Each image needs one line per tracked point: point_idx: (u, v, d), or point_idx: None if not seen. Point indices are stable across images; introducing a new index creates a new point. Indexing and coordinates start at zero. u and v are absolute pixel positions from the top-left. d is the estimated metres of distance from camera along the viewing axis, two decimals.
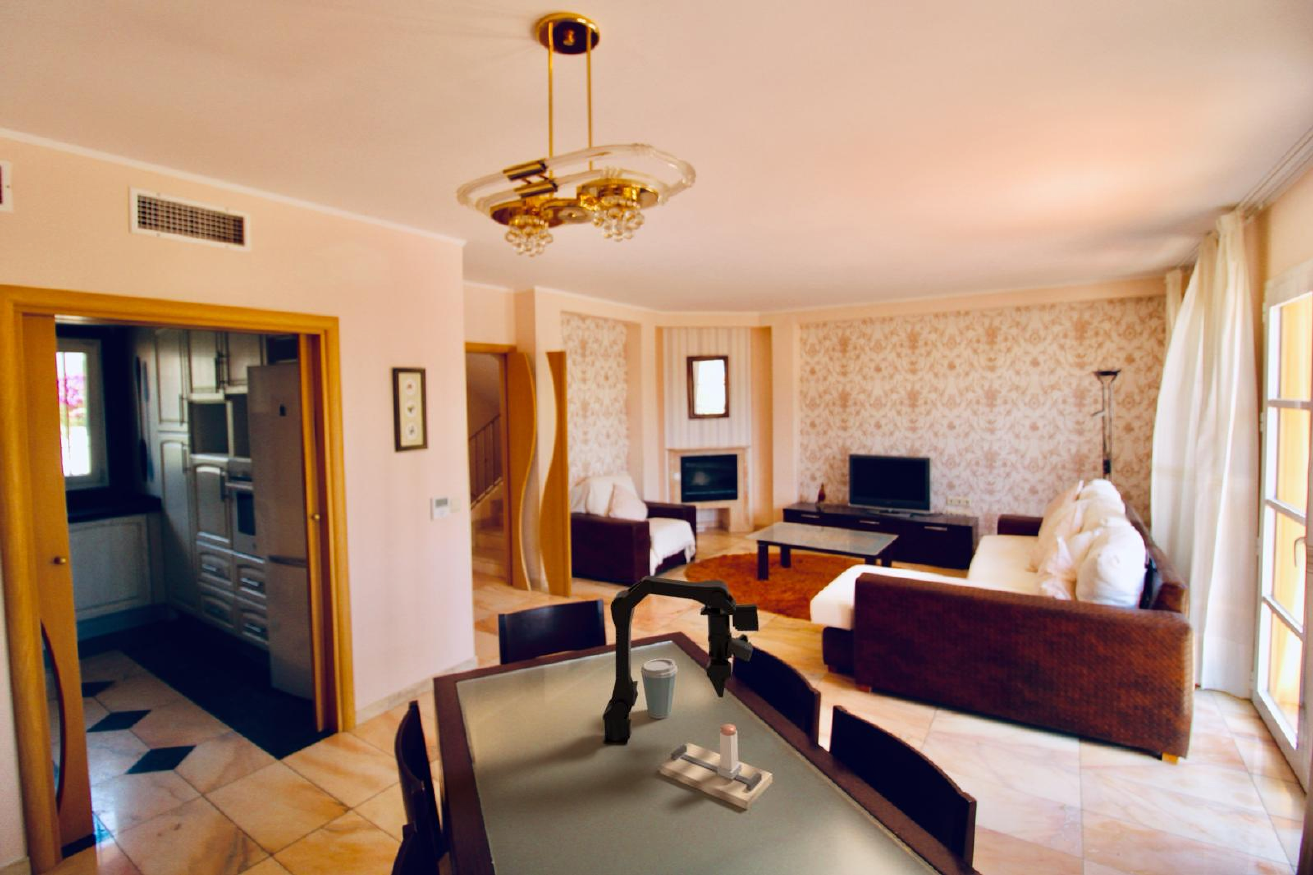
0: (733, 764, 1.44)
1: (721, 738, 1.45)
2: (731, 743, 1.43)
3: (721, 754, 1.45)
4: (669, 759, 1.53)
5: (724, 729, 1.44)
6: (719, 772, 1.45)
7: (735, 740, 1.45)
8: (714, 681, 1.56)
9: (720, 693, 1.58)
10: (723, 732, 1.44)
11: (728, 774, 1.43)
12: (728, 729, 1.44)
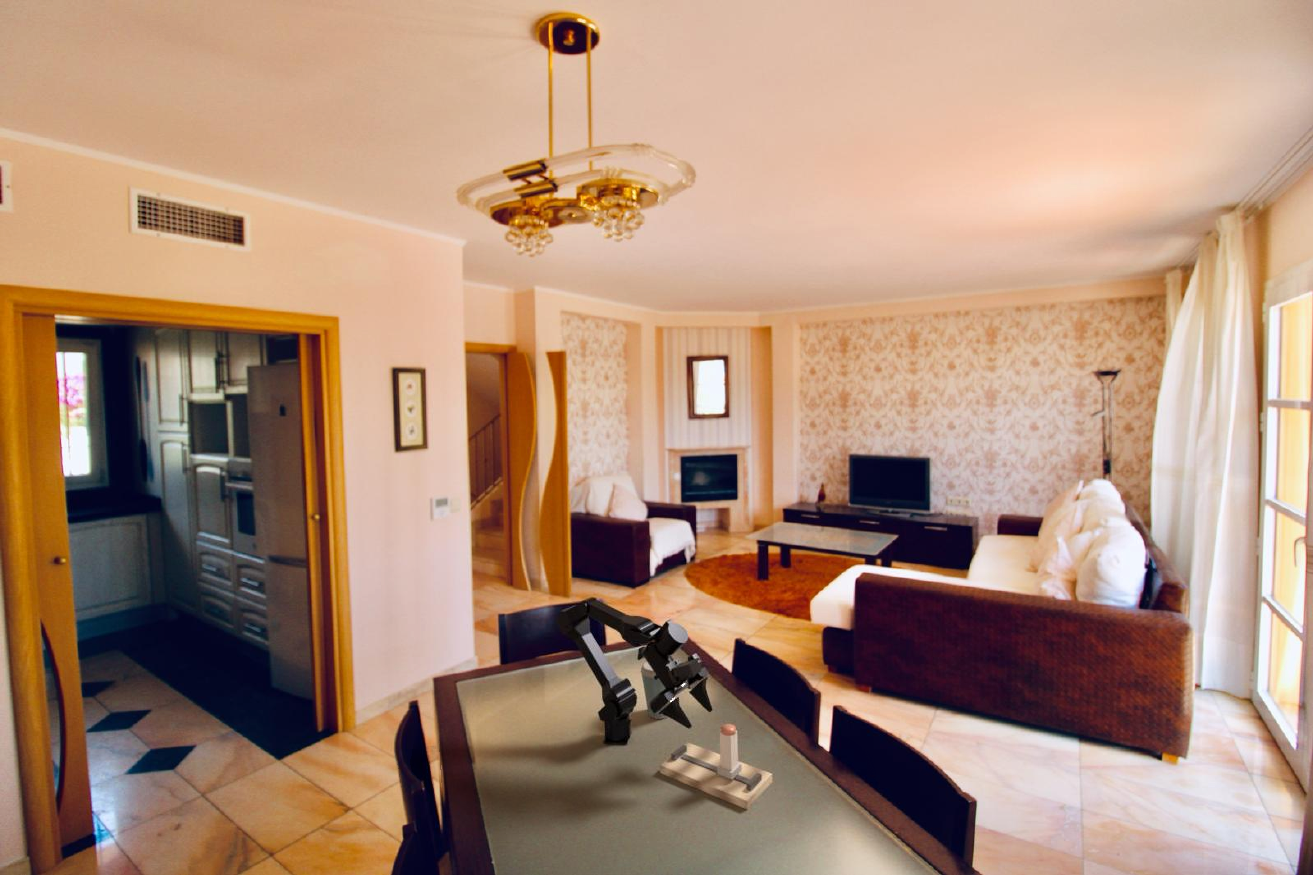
0: (733, 764, 1.44)
1: (721, 738, 1.45)
2: (731, 743, 1.43)
3: (721, 754, 1.45)
4: (669, 759, 1.53)
5: (724, 729, 1.44)
6: (719, 772, 1.45)
7: (735, 740, 1.45)
8: (671, 715, 1.47)
9: (686, 724, 1.46)
10: (723, 732, 1.44)
11: (728, 774, 1.43)
12: (728, 729, 1.44)
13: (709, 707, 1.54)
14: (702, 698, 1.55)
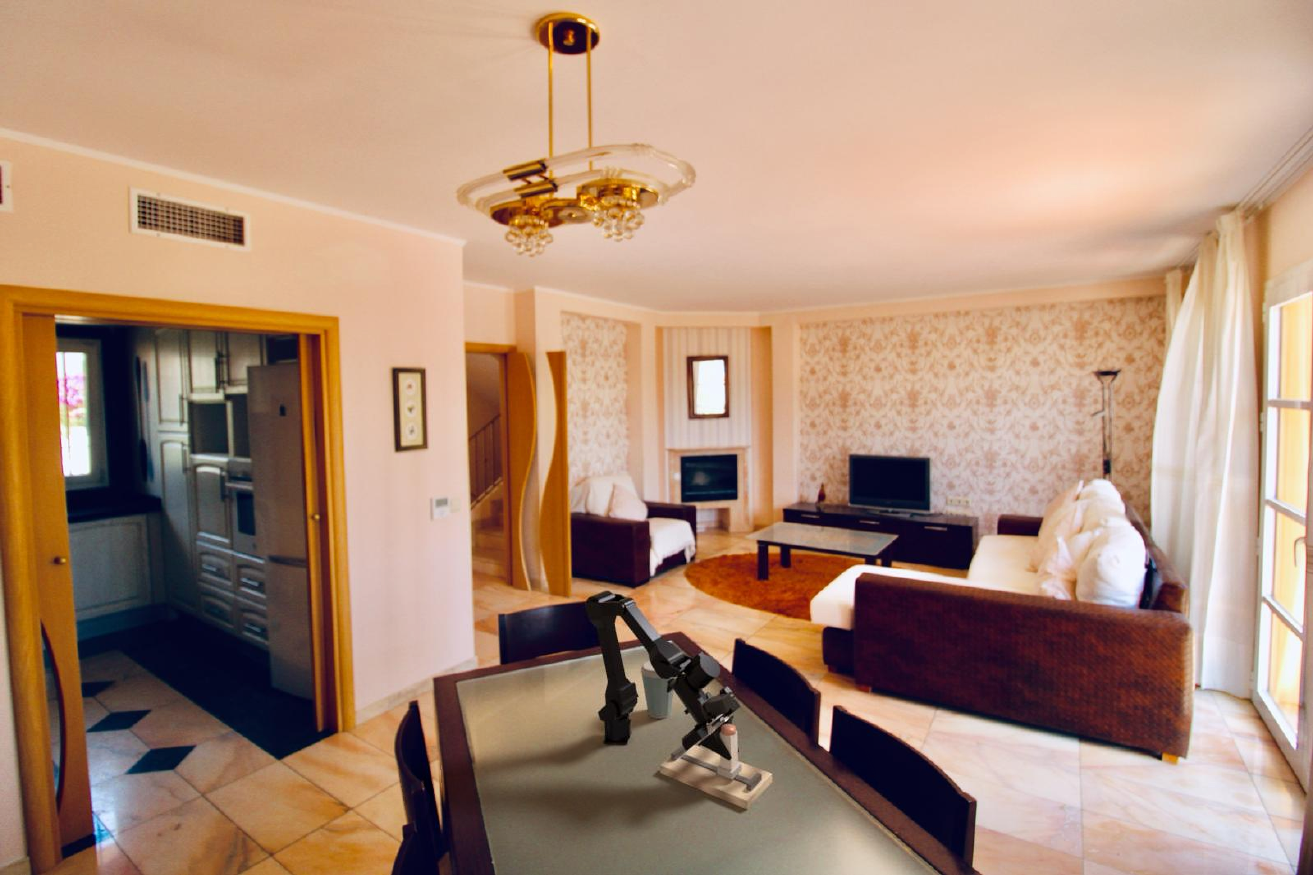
0: (733, 764, 1.44)
1: (721, 738, 1.45)
2: (731, 743, 1.43)
3: None
4: (669, 759, 1.53)
5: (724, 729, 1.44)
6: (719, 772, 1.45)
7: (735, 740, 1.45)
8: (710, 746, 1.45)
9: (726, 755, 1.44)
10: (723, 732, 1.44)
11: (728, 774, 1.43)
12: (728, 729, 1.44)
13: None
14: None
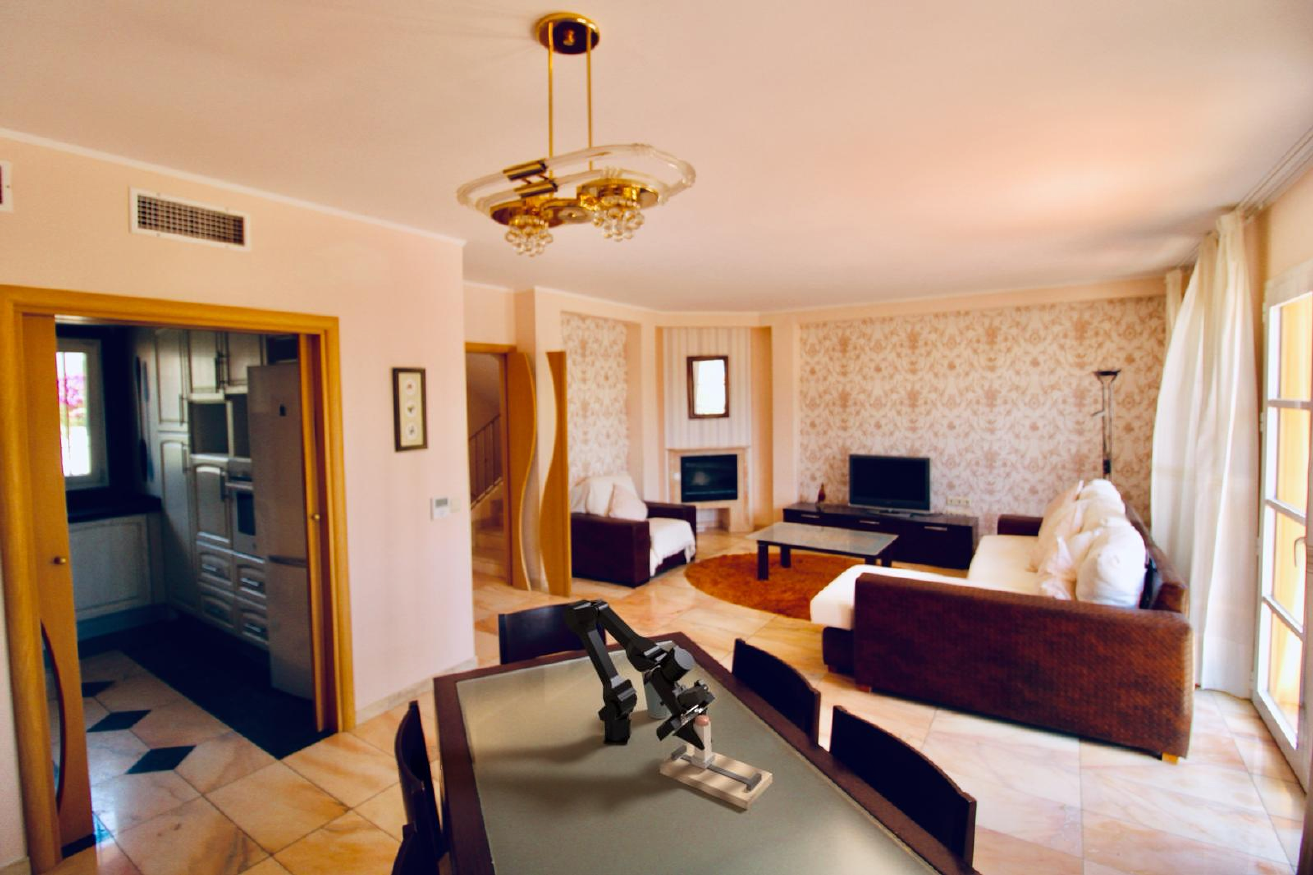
0: (706, 754, 1.49)
1: (695, 729, 1.49)
2: (704, 734, 1.48)
3: None
4: (669, 759, 1.53)
5: (698, 720, 1.49)
6: (693, 762, 1.49)
7: (708, 731, 1.49)
8: (684, 737, 1.49)
9: (699, 746, 1.48)
10: (697, 723, 1.49)
11: (701, 764, 1.48)
12: (701, 720, 1.49)
13: None
14: None
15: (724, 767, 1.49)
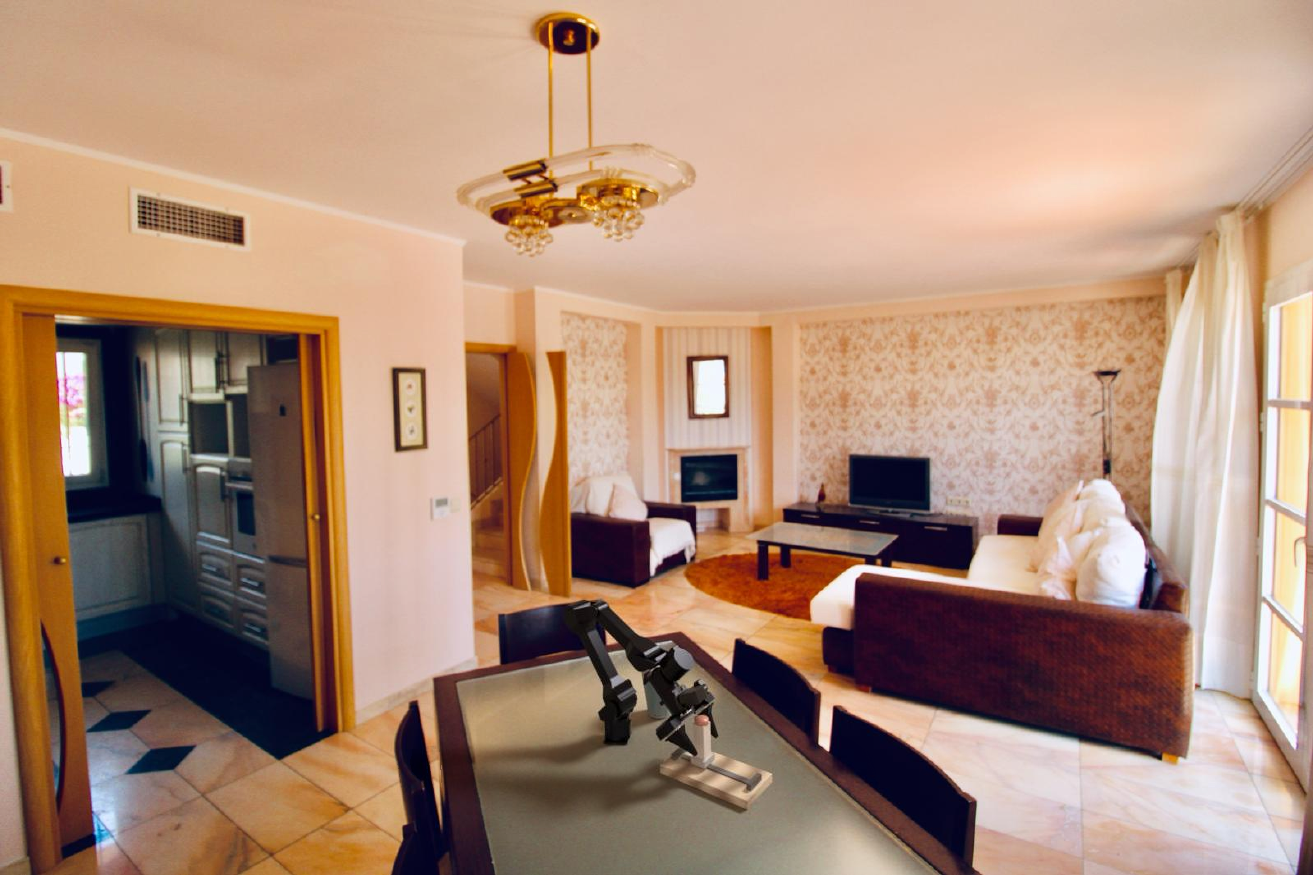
0: (706, 754, 1.49)
1: (694, 729, 1.49)
2: (703, 733, 1.48)
3: (694, 744, 1.50)
4: (669, 759, 1.53)
5: (697, 720, 1.49)
6: (692, 762, 1.49)
7: (708, 731, 1.49)
8: (677, 742, 1.47)
9: (692, 751, 1.46)
10: (696, 723, 1.49)
11: (701, 763, 1.48)
12: (701, 720, 1.49)
13: (715, 733, 1.53)
14: None
15: (724, 767, 1.49)
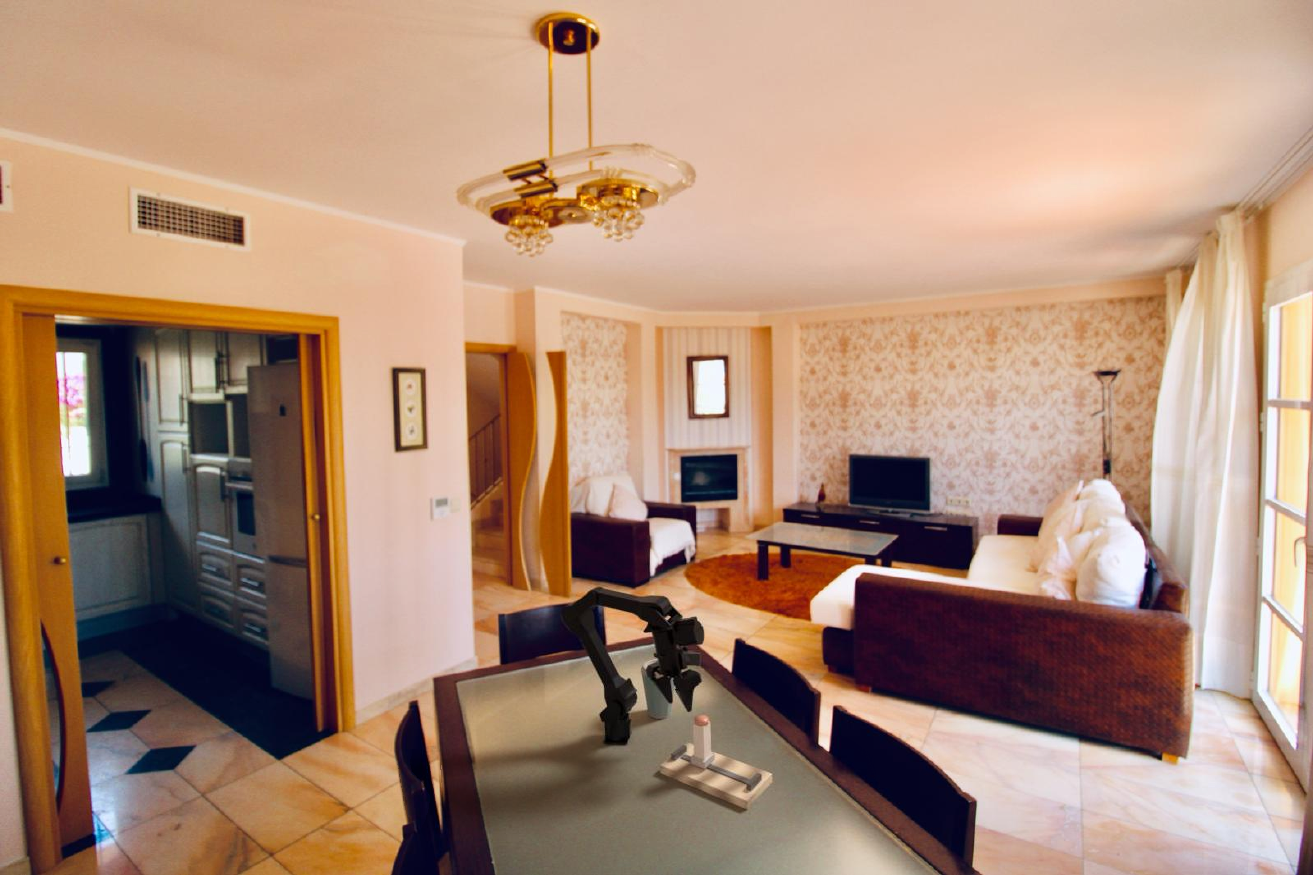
0: (706, 754, 1.49)
1: (694, 729, 1.49)
2: (703, 733, 1.48)
3: (694, 744, 1.50)
4: (669, 759, 1.53)
5: (697, 720, 1.49)
6: (692, 762, 1.49)
7: (708, 731, 1.49)
8: (684, 696, 1.52)
9: (689, 707, 1.54)
10: (696, 723, 1.49)
11: (701, 763, 1.48)
12: (701, 720, 1.49)
13: (671, 699, 1.62)
14: (668, 689, 1.62)
15: (724, 767, 1.49)
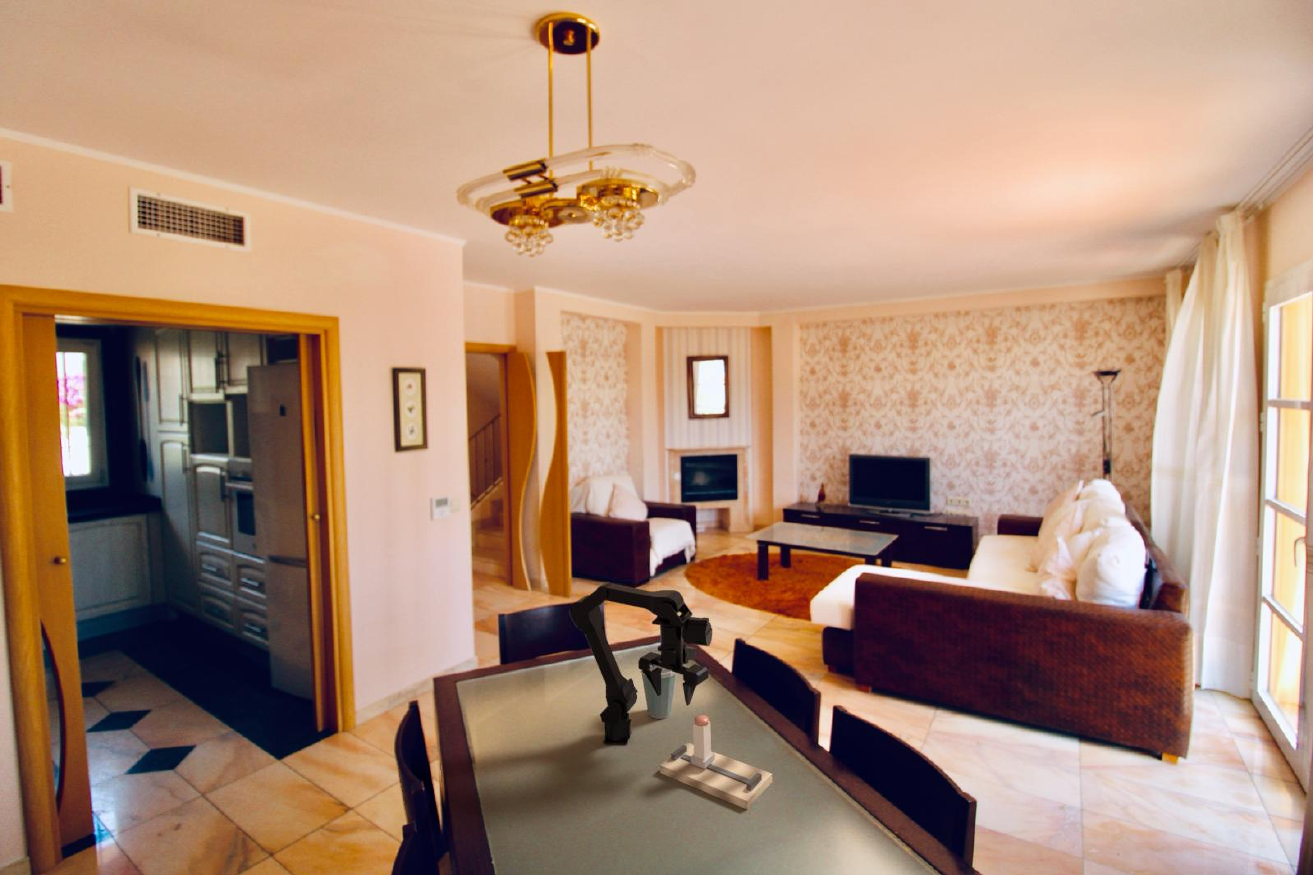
0: (706, 754, 1.49)
1: (694, 729, 1.49)
2: (703, 733, 1.48)
3: (694, 744, 1.50)
4: (669, 759, 1.53)
5: (697, 720, 1.49)
6: (692, 762, 1.49)
7: (708, 731, 1.49)
8: (689, 690, 1.55)
9: (689, 701, 1.57)
10: (696, 723, 1.49)
11: (701, 763, 1.48)
12: (701, 720, 1.49)
13: (660, 691, 1.63)
14: (658, 682, 1.63)
15: (724, 767, 1.49)
